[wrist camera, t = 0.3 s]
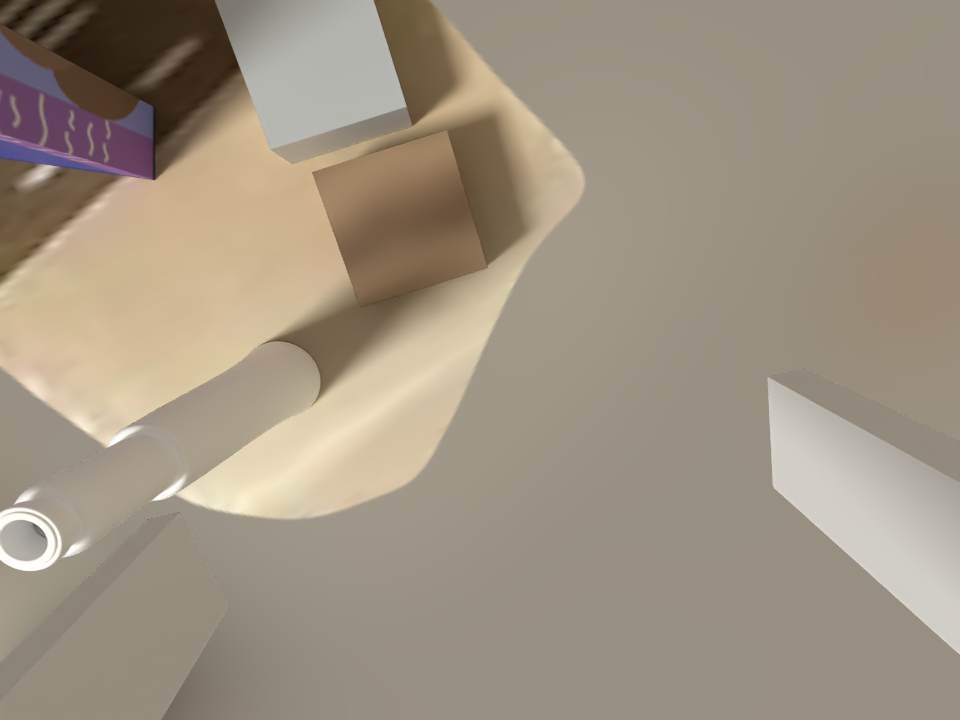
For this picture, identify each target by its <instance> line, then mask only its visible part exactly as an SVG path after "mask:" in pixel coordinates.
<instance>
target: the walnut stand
mask: <svg viewBox="0 0 960 720" xmlns="http://www.w3.org/2000/svg"><path fill="white" fill-rule="evenodd" d="M312 174H313V176H314V179H315V182H316V185H317V188H318V190H319V193H320V196H321V199H322V202H323V204H324V207H325V210H326V213H327V215H328V218H329V221H330V224H331V227H332V229H333V232H334V235H335V238H336V241H337V243H338V246H339V249H340V252H341V255H342V257H343V260H344V263H345V266H346V269H347V271H348V274H349V277H350V280H351V283H352V285H353V288H354V291H355V294H356V297H357V299H358V302H359V305H360V308H361V307H364V306H367V305H370V304H374V303H377V302H380V301H383V300H386V299H390V298H393V297H396V296H399V295H402V294H406V293H409V292H412V291H415V290H418V289H422V288H425V287H428V286H431V285H434V284H438V283H441V282H444V281H447V280H450V279H454V278H457V277H460V276H463V275H466V274H470V273H473V272H476V271H479V270H483V269H486V268H488V267H487V264H486V260H485V257H484V253H483V250H482V247H481V243H480V240H479V237H478V233H477V230H476V226H475V223H474V220H473V216H472V213H471V210H470V206H469V203H468V199H467V196H466V193H465V189H464V186H463V183H462V179H461V176H460V173H459V169H458V166H457V162H456V159H455V156H454V152H453V149H452V146H451V142H450V139H449V135H448V132H447V130H445V131H442V132H439V133H436V134H432V135H429V136H426V137H423V138H420V139H416V140H413V141H410V142H407V143H404V144H401V145H397V146H394V147H391V148H388V149H385V150H381V151H378V152H375V153H372V154H369V155H366V156H362V157H359V158H356V159H353V160H350V161H346V162H343V163H340V164H337V165H334V166H331V167H327V168H324V169H321V170H318V171H315V172H312Z"/></svg>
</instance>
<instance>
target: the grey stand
mask: <svg viewBox="0 0 960 720" xmlns="http://www.w3.org/2000/svg"><path fill="white" fill-rule="evenodd" d="M215 2H216V5H217V7H218V10H219V13H220V15H221V18H222V21H223V23H224V26H225V29H226V32H227V34H228V37H229V40H230V42H231V45H232V48H233V50H234V53H235V56H236V59H237V61H238V64H239V67H240V69H241V72H242V75H243V77H244V80H245V83H246V85H247V88H248V91H249V94H250V96H251V99H252V102H253V104H254V107H255V110H256V112H257V115H258V118H259V121H260V123H261V126H262V129H263V131H264V134H265V137H266V139H267V142H268V145H269V147H270V150H272V151H273V152H275V153H276V154H278V155H279V156H281V157H282V158H284V159H285V160H287V161H288V162H290V163H291V164H293V163H297V162H300V161H303V160H306V159H309V158H313V157H316V156H319V155H322V154H325V153H328V152H332V151H335V150H338V149H341V148H344V147H348V146H351V145H354V144H357V143H360V142H363V141H367V140H370V139H373V138H376V137H379V136H382V135H386V134H389V133H392V132H395V131H398V130H402V129H405V128H408V127H411V126H412V123H411V119H410V116H409V113H408V109H407V106H406V103H405V99H404V96H403V93H402V90H401V87H400V83H399V80H398V77H397V74H396V70H395V67H394V64H393V61H392V58H391V54H390V51H389V48H388V45H387V41H386V38H385V35H384V32H383V29H382V25H381V22H380V19H379V16H378V12H377V9H376V6H375V3H374V0H215Z"/></svg>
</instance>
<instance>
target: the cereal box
mask: <svg viewBox="0 0 960 720" xmlns="http://www.w3.org/2000/svg"><path fill="white" fill-rule="evenodd" d="M0 158H3V159H10V160H18V161H25V162H32V163H39V164H46V165H53V166H60V167H67V168H74V169H81V170H88V171H95V172H102V173H109V174H116V175H123V176H130V177H137V178H144V179H151V180H155V107H153V106H151V105H149V104H147V103H145V102H144V101H142V100H140V99H138V98H136V97H134V96H133V95H131V94H129V93H127V92H125V91H123V90H121V89H120V88H118V87H116V86H114V85H112V84H110V83H109V82H107V81H105V80H103V79H101V78H99V77H98V76H96V75H94V74H92V73H90V72H88V71H86V70H85V69H83V68H81V67H79V66H77V65H75V64H74V63H72V62H70V61H68V60H66V59H64V58H63V57H61V56H59V55H57V54H55V53H53V52H52V51H50V50H48V49H46V48H44V47H42V46H40V45H39V44H37V43H35V42H33V41H31V40H29V39H28V38H26V37H24V36H22V35H20V34H18V33H17V32H15V31H13V30H11V29H9V28H7V27H5V26H4V25H2V24H0Z"/></svg>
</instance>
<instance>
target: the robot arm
mask: <svg viewBox="0 0 960 720" xmlns="http://www.w3.org/2000/svg"><path fill="white" fill-rule="evenodd" d="M768 396H769V415H770V435H771V453H772V474H773V487H774V488H775V489H776V490H777V491H778V492H779V493H781V494H782V495H783V496H784V497H785V498H786V499H787V500H788V501H790V502H791V503H792V504H793V505H794V506H795V507H796V508H797V509H798V510H799V511H800V512H802V513H803V514H804V515H805V516H806V517H807V518H808V519H809V520H811V521H812V522H813V523H814V524H815V525H816V526H817V527H818V528H819V529H821V530H822V531H823V532H824V533H825V534H826V535H827V536H828V537H829V538H831V539H832V540H833V541H834V542H835V543H836V544H837V545H838V546H840V547H841V548H842V549H843V550H844V551H845V552H846V553H847V554H848V555H850V556H851V557H852V558H853V559H854V560H855V561H856V562H857V563H858V564H859V565H861V566H862V567H863V568H864V569H865V570H866V571H867V572H868V573H870V574H871V575H872V576H873V577H874V578H875V579H876V580H877V581H879V582H880V583H881V584H882V585H883V586H884V587H885V588H886V589H887V590H888V591H890V592H891V593H892V594H893V595H894V596H895V597H896V598H898V600H900V601H901V602H902V603H903V604H904V605H905V606H906V607H907V608H909V609H910V610H911V611H912V612H913V613H914V614H915V615H916V616H917V617H918V618H920V619H921V620H922V621H923V622H924V623H925V624H926V625H927V626H928V627H930V628H931V629H932V630H933V631H934V632H935V633H936V634H937V635H939V636H940V637H941V638H942V639H943V640H944V641H945V642H946V643H948V644H949V645H950V646H951V647H952V648H953V649H954V650H955V651H956V652H958V653H959V654H960V441H958V440H956V439H954V438H952V437H949V436H948V435H946V434H943V433H941V432H939V431H937V430H935V429H933V428H931V427H928V426H926V425H924V424H922V423H920V422H918V421H915V420H913V419H911V418H909V417H907V416H905V415H903V414H901V413H898V412H896V411H894V410H892V409H890V408H887V407H885V406H883V405H881V404H879V403H877V402H875V401H873V400H870V399H868V398H866V397H864V396H862V395H860V394H857V393H855V392H853V391H851V390H849V389H847V388H845V387H843V386H840V385H838V384H836V383H834V382H832V381H830V380H828V379H825V378H823V377H821V376H819V375H817V374H815V373H813V372H810V371H808V370H806V369H800V370H795V371H791V372H787V373H782V374H778V375H774V376H769V377H768ZM228 607H229V605H228V604H227V602H226V599H225V598H224V595H223V593H222V592H221V590H220V588H219V586H218V584H217V582H216V580H215V578H214V576H213V575H212V572H211V570H210V568H209V567H208V565H207V563H206V561H205V559H204V557H203V555H202V553H201V551H200V550H199V547H198V546H197V544H196V542H195V540H194V538H193V536H192V534H191V532H190V530H189V528H188V526H187V524H186V522H185V520H184V518H183V517H182V515H181V513H180V512H177V513H173V514H169V515H164V516H160V517H156V518H151V519H148V520H147V521H146V522H145V523H144V524H142V525H141V526H140V527H139V528H138V529H137V530H136V531H135V532H134V533H133V534H132V535H131V536H130V537H129V538H128V539H127V540H126V541H125V542H124V543H123V544H122V545H121V546H120V547H119V548H118V549H117V550H116V551H115V552H114V553H113V554H112V555H110V556H109V557H108V558H107V559H106V560H105V561H104V562H103V563H102V564H101V565H100V566H99V567H98V568H97V569H96V570H95V571H94V572H93V573H92V574H91V575H90V576H89V577H88V578H87V579H86V580H85V581H84V582H83V583H82V584H81V585H80V586H79V587H77V589H76V590H75V591H73V592H72V593H71V594H70V595H69V596H68V597H67V598H66V599H65V600H64V601H63V602H62V603H61V604H60V605H59V606H58V607H57V608H56V609H55V610H54V611H53V612H52V613H51V614H50V615H49V616H48V617H47V618H46V619H45V620H43V621H42V622H41V623H40V624H39V625H38V626H37V627H36V628H35V629H34V630H33V631H32V632H31V633H30V634H29V635H28V636H27V637H26V638H25V639H24V640H23V641H22V642H21V643H20V644H19V645H18V646H17V647H16V648H15V649H14V650H13V651H11V652H10V653H9V655H7V656H6V657H5V658H4V659H3V660H2V661H1V662H0V720H161V719H162V717H163V716H164V714H165V712H166V711H167V709H168V707H169V706H170V704H171V702H172V701H173V699H174V697H175V696H176V694H177V692H178V690H179V689H180V687H181V685H182V684H183V682H184V681H185V679H186V677H187V676H188V674H189V672H190V671H191V669H192V667H193V666H194V664H195V662H196V661H197V659H198V657H199V656H200V654H201V652H202V650H203V649H204V647H205V646H206V644H207V642H208V641H209V639H210V637H211V635H212V634H213V632H214V630H215V629H216V627H217V626H218V624H219V622H220V620H221V619H222V617H223V616H224V614H225V612H226V610H227V609H228Z"/></svg>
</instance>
